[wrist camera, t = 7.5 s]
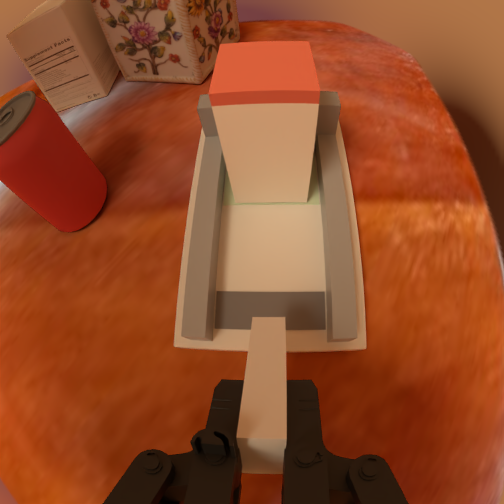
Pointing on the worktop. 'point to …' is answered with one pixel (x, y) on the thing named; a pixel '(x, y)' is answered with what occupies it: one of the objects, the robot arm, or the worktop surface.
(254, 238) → the grey tray
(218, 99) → the block
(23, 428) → the worktop surface
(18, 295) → the worktop surface
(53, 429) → the worktop surface
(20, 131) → the beer can
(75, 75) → the supplement box
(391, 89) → the worktop surface
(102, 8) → the decorative jar
